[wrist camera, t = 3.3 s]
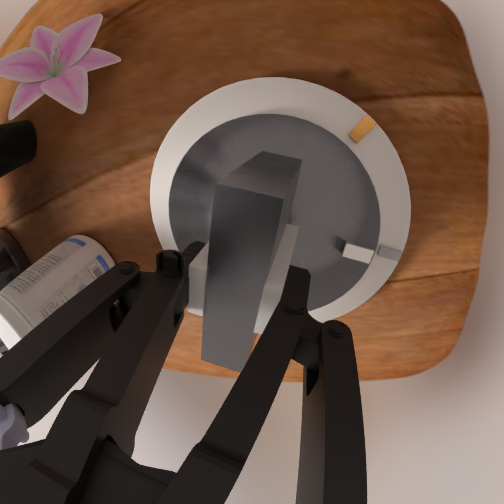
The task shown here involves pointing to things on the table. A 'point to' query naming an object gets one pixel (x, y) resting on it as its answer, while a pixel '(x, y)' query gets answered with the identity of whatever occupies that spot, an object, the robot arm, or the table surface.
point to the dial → (270, 219)
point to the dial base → (323, 114)
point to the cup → (16, 145)
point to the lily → (56, 66)
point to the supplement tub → (49, 285)
